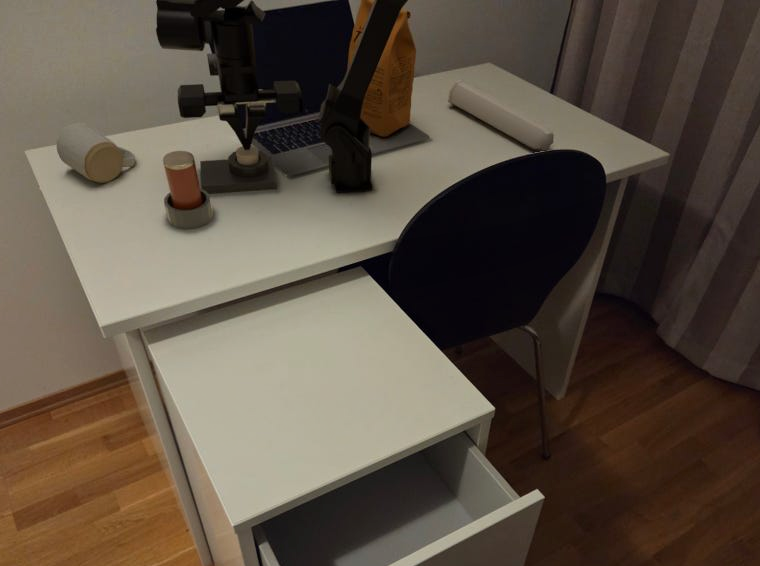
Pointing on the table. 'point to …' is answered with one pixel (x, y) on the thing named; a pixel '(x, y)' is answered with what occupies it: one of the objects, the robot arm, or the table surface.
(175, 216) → the capsule holder
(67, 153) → the ceramic mug
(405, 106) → the coffee package
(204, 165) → the plate with ring holder
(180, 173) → the orange metal cylinder
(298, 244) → the table surface
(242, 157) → the release button
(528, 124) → the tube
